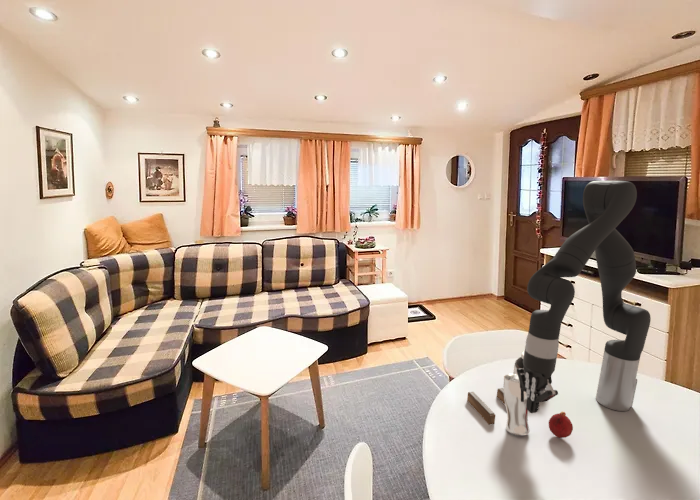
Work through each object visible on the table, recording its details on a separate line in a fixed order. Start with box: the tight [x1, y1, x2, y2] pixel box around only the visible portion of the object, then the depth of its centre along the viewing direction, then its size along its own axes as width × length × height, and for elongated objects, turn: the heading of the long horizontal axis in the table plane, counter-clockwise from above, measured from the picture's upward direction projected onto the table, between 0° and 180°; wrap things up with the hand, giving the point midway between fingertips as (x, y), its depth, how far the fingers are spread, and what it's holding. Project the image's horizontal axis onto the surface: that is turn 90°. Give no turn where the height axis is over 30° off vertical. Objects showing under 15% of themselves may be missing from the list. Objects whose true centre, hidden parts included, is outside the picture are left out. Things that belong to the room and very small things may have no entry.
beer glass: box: [503, 373, 530, 436], centre depth 108 cm, size 7×7×15 cm
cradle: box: [466, 387, 505, 426], centre depth 118 cm, size 13×12×3 cm
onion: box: [548, 411, 574, 439], centre depth 106 cm, size 6×6×8 cm
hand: (531, 411), depth 102 cm, fingers closed
